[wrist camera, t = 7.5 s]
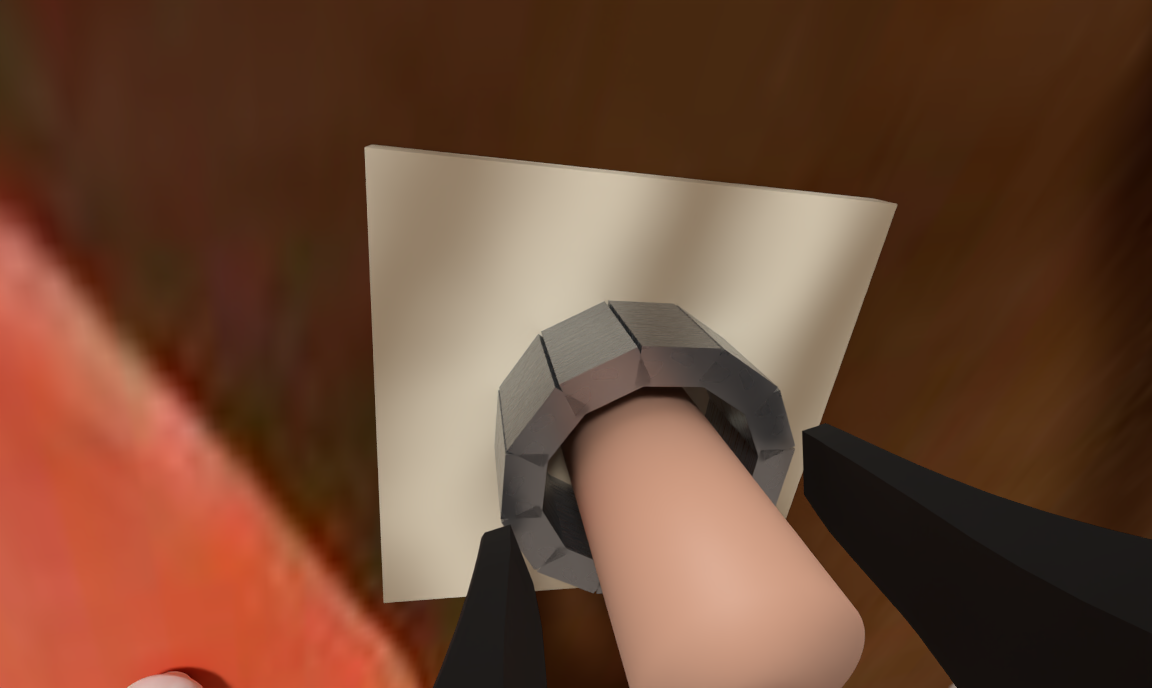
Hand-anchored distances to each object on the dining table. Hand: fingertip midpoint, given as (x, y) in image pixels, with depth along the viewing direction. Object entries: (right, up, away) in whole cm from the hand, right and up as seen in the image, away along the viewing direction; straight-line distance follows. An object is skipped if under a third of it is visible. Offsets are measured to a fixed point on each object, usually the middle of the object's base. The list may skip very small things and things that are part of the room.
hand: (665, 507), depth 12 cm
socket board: (-1, +2, +4) cm, 5 cm away
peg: (-1, +2, +3) cm, 4 cm away
